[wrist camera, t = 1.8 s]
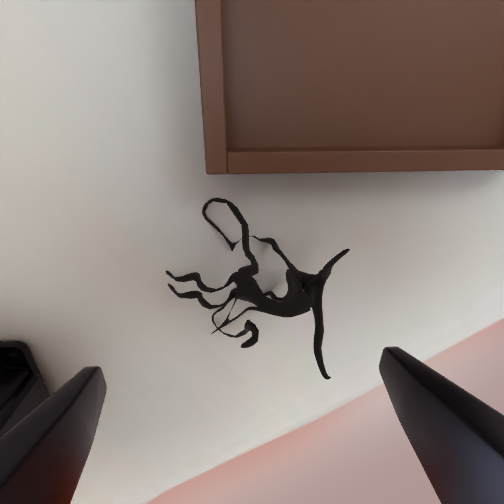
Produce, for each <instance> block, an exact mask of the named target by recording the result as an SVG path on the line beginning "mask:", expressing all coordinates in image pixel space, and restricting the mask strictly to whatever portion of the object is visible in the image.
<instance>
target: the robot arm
mask: <svg viewBox="0 0 504 504" xmlns="http://www.w3.org/2000/svg"><path fill="white" fill-rule="evenodd" d="M379 370H380V374H381V376H382V379H383V381H384V384H385V387H386V389H387V391H388V394H389V397H390V399H391V402H392V404H393V407H394V409H395V412H396V414H397V416H398V419H399V421H400V423H401V425H402V427H403V429H404V431H405V433H406V435H407V437H408V439H409V441H410V443H411V445H412V447H413V449H414V451H415V452H416V455H417V456H418V458H419V460H420V462H421V464H422V466H423V468H424V470H425V472H426V474H427V476H428V478H429V480H430V482H431V484H432V486H433V488H434V490H435V492H436V494H437V496H438V498H439V500H440V502H441V503H442V504H504V415H502V414H501V413H499V412H498V411H496V410H495V409H493V408H491V407H490V406H489V405H487V404H485V403H484V402H482V401H481V400H479V399H478V398H476V397H475V396H473V395H472V394H470V393H468V392H467V391H465V390H464V389H462V388H460V387H459V386H458V385H456V384H455V383H453V382H451V381H450V380H448V379H447V378H445V377H444V376H442V375H441V374H439V373H437V372H436V371H434V370H433V369H431V368H430V367H428V366H427V365H425V364H424V363H422V362H421V361H419V360H417V359H416V358H414V357H413V356H411V355H410V354H408V353H407V352H405V351H404V350H402V349H400V348H399V347H385V348H384V349H383V352H382V356H381V360H380V364H379ZM106 388H107V387H106V382H105V379H104V376H103V372H102V369H101V368H100V367H99V366H92V367H85V368H83V369H82V370H81V371H80V372H78V373H77V374H76V375H75V376H74V377H73V378H71V379H70V380H69V381H68V382H67V383H65V384H64V385H63V386H62V387H61V388H59V389H58V390H57V391H56V392H55V393H54V394H52V395H51V396H50V395H49V393H48V390H47V388H46V386H45V384H44V381H43V379H42V377H41V375H40V372H39V370H38V368H37V366H36V363H35V361H34V359H33V357H32V354H31V352H30V350H29V348H28V346H27V345H26V344H24V343H23V342H20V341H8V342H0V504H70V503H71V500H72V498H73V495H74V492H75V490H76V487H77V484H78V482H79V479H80V476H81V474H82V471H83V468H84V466H85V463H86V460H87V458H88V455H89V452H90V449H91V446H92V443H93V439H94V436H95V432H96V428H97V425H98V421H99V417H100V413H101V410H102V406H103V402H104V398H105V395H106Z"/></svg>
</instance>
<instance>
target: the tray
mask: <svg viewBox="0 0 504 504" xmlns="http://www.w3.org/2000/svg"><path fill="white" fill-rule="evenodd" d="M195 13H196V28H197V43H198V57H199V72H200V87H201V101H202V116H203V131H204V145H205V160H206V173H207V174H227V173H228V174H273V173H336V172H400V171H463V170H504V0H195Z"/></svg>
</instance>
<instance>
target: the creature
mask: <svg viewBox="0 0 504 504" xmlns="http://www.w3.org/2000/svg"><path fill="white" fill-rule="evenodd" d="M213 201H215V202H221V203H227V205H228V206H229V208H230V209H231V211H232V212H233V214H234V215H235V216H236V218H237V219H238V221H239V222H240V224H241V226H242V244H243V250H244V252H245V256H246V257H247V258H248V259H249V260H250V261H251V265H249V266H245V267H242V268H240V269H239V270H238V272H235V273H233V274H232V275H231V276H230V277H229V279H228V281H227V283H226V284H225V285H224V286H223V287H220V288H217V289H214V288H209V287H207V286H205V285H204V284H203V282H202V281H201V277H200V274H199V273H197V272H196V273H190V274H187V275H184V276H180V277H174V276H173V275H172V274H171V273H170V272H169V271H166V273H167V274H168V275H169V276H170V277H171V278H173V279H174V280H175V281H178V282H187V281H192V280H194V281H196V283H197V286H198V287H199V288H200V289H201V290H202V291H205V292H210V293H212V292H215V291H219V290H222V289H223V288H225V287H227V286H229V285H230V284H231V283H232V282H235V283H236V286H237V288H234V289H233V290H231V292H230V295H229V298H228V299H227V301H226V302H225V303H223V304H221V305H211V304H210V303H209V302H207V301H206V300H205V299H204V298H203V296H202V293H201V292H199V291H190V292H186V293H178V292H177V291H176V290H175V288H174V287H173V286H172V285H170V284H168V286H169V288H170V289H171V290H172V291H173V292H174V293H175V294H176V295H177V296H178V297H180V298H188V299H192V298H198V301H199V303H200V304H201V305H202V306H203V307H205V308H208V309H213V308H218V307H221V306H222V307H221V308H220V309H218V310H217V311H216V312H215V313H214V314H213V315H212V322H213V324H214V325H215V326H216V324H215V322H214V315H215V314H216V313H217V312H219V311H221V310H222V309H224V307H225V306H226V305H227V303H229V302H230V301H231V300H232V299H233V298H235V301H234V304H235V302H236V300H237V299H240V300H244V301H248V302H251V303H253V304H255V305H256V306H258V307H248V308H246V309H245V310H244V311H243V312H242V313H241V314H239V315H238V316H237V317H235V318H233V319H232V320H230V321H229V319H228V317H229V315H230V313H229V315H228V316H227V318H226V320H225V321H224V322H223V323H222V325H221V326H220V327H217V326H216V328H217V329H216V330H215V331H214V332H216V331H217V330H219V331H221V330H220V329H221V328H222V327H224V326H226V325H227V324H229V323H230V322H232V321H234V320H235V319H237V318H238V317H240V316H241V315H242V314H243V313H245V312H246V311H247V310H256V311H260V312H264V313H268V314H272V315H275V316H280V317H293V316H297V315H300V314H303V313H306V312H308V311H310V308H311V307H312V309H313V313H314V318H315V334H314V354H315V357H316V361H317V364H318V367H319V369H320V372H321V374H322V375H323V377H324V378H325V379H330V378H331V377H329V376H328V375H327V373H326V370H325V367H324V363H323V357H322V350H321V347H322V340H323V334H324V326H323V311H322V293H323V288H324V285H325V282H326V280H327V279H328V277H329V275H330V273H331V269H332V267H333V265H334V264H335V263H336V262H337V261H338V260H339V259H340V258H341V257H343V256H344V255H345V254H346V253H347V252H348V251H349V250H350V249H345V250H343V251H342V252H340V253H339V254H337V255H336V256H335V257H334V258H332V259H331V260H330V261H329V262H328V263H327V264H326V265H325V266H324V267H323V269H322V270H320V271H319V273H318V274H316V275H313V274H307V273H304V272H301V271H298V270H297V269H296V268H295V266H294V265H293V264H291V263H290V262H289V260H288V259H287V258H286V257H285V255H284V254H283V253H282V251H281V250H280V249H279V247H278V245H277V243H276V242H275V240H274V239H272V238H266V239H259V238H257V237H256V236H252V237H254V238H256V239H258V240H259V241H261V242H267V243H269V244H271V246H272V248H273V250H274V251H275V252H277V253H278V254H279V255H280V256H281V257H282V258H283V260H284V261H285V262H286V264H287V266H288V268H289V269H287V271H286V273H285V274H286V280H287V283H288V292H287V294H286V295H285V296H284V297H283V298H279V297H277V296H276V295H275V294H274V293H273V292H272V291H269V292H266V293H265V294H264V293H263V292H262V291H261V289H260V288H259V286H258V284H257V282H256V280H255V279H254V278H253V277H252V276H253V275H255V274H258V272H259V268H258V263H257V261H256V259H255V256H254V255H253V254H252V253H251V251H250V249H249V237H251V236H249V229H248V224H247V222H246V221H245V219H244V218H243V216H242V214H241V213H240V211H239V210H238V208H237V207H236V206H235V205H234V204H233V203H231V202H230V201H228V200H226V199H221V198H213V199H210V200H209V201H208V202H207V203H206V204H205V205H204V207H203V210H202V213H203V216H204V218H205V219H206V220H207V221H208V222H209V223H210V224H211V225H212V226H213V227H214V228H215V229H216V230H217V231H218V232H219V233H220V234H221V235H222V236H223V237H224V238H225V240H226V241H227V243H228V244H229V246H230V248H231V250H232V251H233V249H234V247H235V245H236V244H237V243H238V242H239V241H240V240H241V239H240V240H239V241H238V242H236V243H231V242H230V241H229V240H228V239H227V238H226V236H225V235H224V234H223V233H222V232H221V230H220V229H219V228H218V227H217V226H216V225H215V224H214V223H213V222H212V221H211V220H209V219H208V218H207V216H206V213H205V210H206V208H207V206H208V204H210V203H212V202H213ZM303 289H304V290H303ZM267 295H270V297H271V298H272V299H271V298H269V297H266V296H267ZM277 301H282V302H277ZM234 304H233V306H234ZM232 308H233V307H232ZM231 310H232V309H231ZM230 312H231V311H230ZM249 331H251V332H252V337H251V338H250V339H248V340H247V341H246V342H244V343H243V344H242V345H241V348H247V347H250V346H253V345H254V344H255V343H256V342H257V341H258V334H259V330H258V328H257V327H256V325H255V324H254V323H252V322H251V321H250V320H247V322H246V323H245V329H244V330H243V331H241V332H240V333H238V334H237V335H236V336H234V335H230V334H227V333H224V332H222V331H221V332H222V333H223V334H225V335H227V336H229V337H236V338H238V337H240V336H243V335H245V334H246V333H247V332H249ZM214 332H212V333H214ZM212 333H211V334H212Z"/></svg>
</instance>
